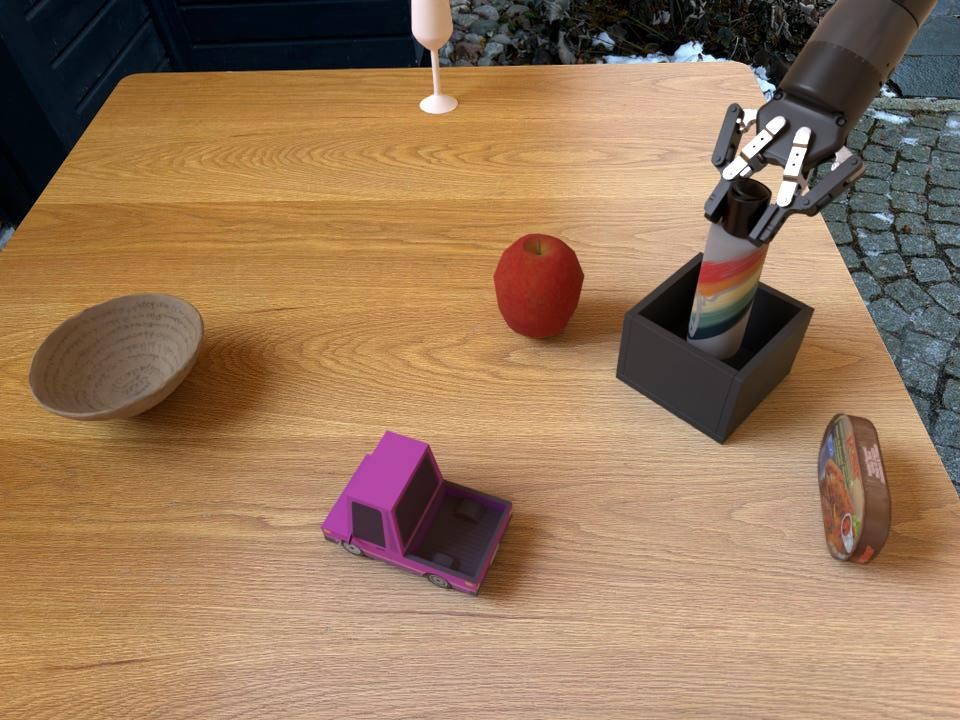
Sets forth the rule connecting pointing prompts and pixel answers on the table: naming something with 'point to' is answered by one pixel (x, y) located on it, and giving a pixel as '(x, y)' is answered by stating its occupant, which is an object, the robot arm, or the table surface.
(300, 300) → the table surface
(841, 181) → the robot arm
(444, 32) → the champagne flute
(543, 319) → the apple
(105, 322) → the bowl
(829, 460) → the tin
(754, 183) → the lotion bottle
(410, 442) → the toy truck
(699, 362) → the bin
